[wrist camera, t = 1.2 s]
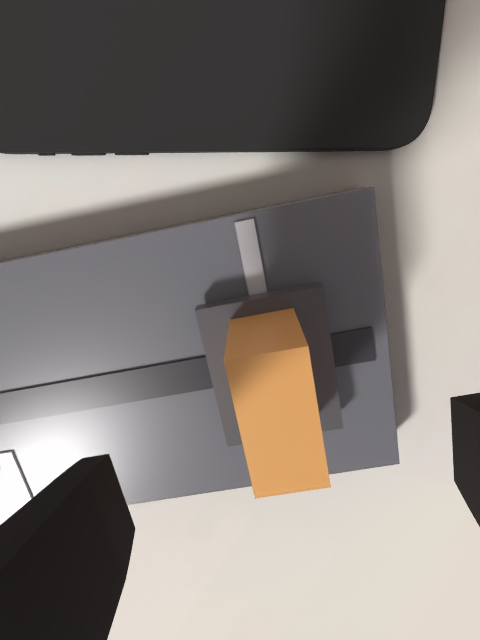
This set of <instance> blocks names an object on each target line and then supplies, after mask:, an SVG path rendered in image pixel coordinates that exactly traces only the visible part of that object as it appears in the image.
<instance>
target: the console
mask: <svg viewBox="0 0 480 640" xmlns="http://www.w3.org/2000/svg"><path fill="white" fill-rule="evenodd" d="M318 282H321V284H322V285H323V286H324V292H325V299H326V306H327V314H328V321H329V328H330V335H331V342H332V349H333V357H334V364H335V371H336V378H337V385H338V392H339V400H340V407H341V414H342V421H343V429H337V430H331V431H324V432H322V435H323V442H324V448H325V454H326V461H327V467H328V473H329V474H335V473H341V472H348V471H355V470H361V469H368V468H374V467H381V466H388V465H394V464H400V463H399V452H398V442H397V431H396V420H395V410H394V399H393V389H392V378H391V367H390V357H389V346H388V336H387V325H386V314H385V304H384V293H383V283H382V272H381V261H380V251H379V240H378V230H377V219H376V208H375V198H374V187H366V188H357V189H352V190H347V191H342V192H337V193H332V194H327V195H322V196H318V197H313V198H308V199H303V200H298V201H293V202H288V203H283V204H279V205H274V206H269V207H264V208H259V209H254V210H249V211H244V212H239V213H235V214H230V215H225V216H220V217H215V218H210V219H205V220H200V221H196V222H191V223H186V224H181V225H176V226H171V227H166V228H161V229H157V230H152V231H147V232H142V233H137V234H132V235H127V236H122V237H118V238H113V239H108V240H103V241H98V242H93V243H88V244H83V245H78V246H74V247H69V248H64V249H59V250H54V251H49V252H44V253H39V254H35V255H30V256H25V257H20V258H15V259H10V260H5V261H0V524H2V523H3V522H4V521H6V520H7V519H8V518H9V517H10V516H12V515H13V514H14V513H15V512H16V511H18V510H19V509H20V508H21V507H22V506H23V505H25V504H26V503H27V502H28V501H29V500H31V499H32V498H33V497H34V496H35V495H37V494H38V493H39V492H40V491H41V490H42V489H44V488H45V487H46V486H47V485H48V484H50V483H51V482H52V481H53V480H54V479H56V478H57V477H58V476H59V475H60V474H62V473H63V472H64V471H65V470H67V469H68V468H69V467H71V466H72V465H73V464H75V463H76V462H77V461H79V460H80V459H82V458H86V457H92V456H98V455H104V454H109V455H110V457H111V460H112V463H113V466H114V469H115V472H116V475H117V478H118V480H119V483H120V486H121V489H122V492H123V495H124V498H125V500H126V503H127V505H130V504H136V503H143V502H150V501H156V500H163V499H170V498H176V497H183V496H189V495H196V494H203V493H209V492H216V491H222V490H229V489H236V488H242V487H249V486H252V483H251V479H250V474H249V470H248V465H247V461H246V457H245V452H244V448H243V445H237V446H230V447H228V446H227V442H226V438H225V434H224V430H223V426H222V422H221V417H220V413H219V409H218V405H217V401H216V397H215V393H214V388H213V384H212V380H211V376H210V372H209V368H208V364H207V360H206V355H205V351H204V347H203V343H202V339H201V335H200V331H199V327H198V322H197V318H196V314H195V308H196V306H197V305H201V304H206V303H211V302H217V301H222V300H227V299H233V298H238V297H243V296H249V295H254V294H259V293H265V292H270V291H275V290H280V289H286V288H291V287H296V286H302V285H307V284H312V283H318Z"/></svg>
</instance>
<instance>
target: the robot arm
mask: <svg viewBox="0 0 480 640" xmlns="http://www.w3.org/2000/svg"><path fill="white" fill-rule="evenodd" d="M450 399H451V421H452V443H453V465H454V481H455V483H456V485H457V487H458V489H459V491H460V492H461V494H462V496H463V498H464V500H465V502H466V504H467V505H468V507H469V509H470V511H471V512H472V514H473V516H474V518H475V519H476V521H477V523H478V525H479V526H480V393H475V394H469V395H463V396H457V397H451V398H450ZM134 533H135V526H134V523H133V521H132V518H131V515H130V512H129V509H128V506H127V503H126V500H125V498H124V495H123V492H122V489H121V486H120V483H119V480H118V478H117V475H116V472H115V469H114V466H113V463H112V460H111V457H110V455H109V454H104V455H98V456H92V457H86V458H82V459H80V460H79V461H77V462H76V463H75V464H73V465H72V466H71V467H69V468H68V469H67V470H65V471H64V472H63V473H62V474H60V475H59V476H58V477H57V478H56V479H54V480H53V481H52V482H51V483H50V484H48V485H47V486H46V487H45V488H44V489H42V490H41V491H40V492H39V493H38V494H37V495H35V496H34V497H33V498H32V499H31V500H29V501H28V502H27V503H26V504H25V505H23V506H22V507H21V508H20V509H19V510H18V511H16V512H15V513H14V514H13V515H12V516H10V517H9V518H8V519H7V520H6V521H4V522H3V523H2V524H1V525H0V640H107V638H108V635H109V632H110V629H111V625H112V622H113V619H114V616H115V613H116V609H117V606H118V603H119V600H120V596H121V593H122V590H123V587H124V583H125V580H126V575H127V571H128V566H129V561H130V556H131V550H132V544H133V539H134Z"/></svg>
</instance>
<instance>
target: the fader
mask: <svg viewBox="0 0 480 640" xmlns="http://www.w3.org/2000/svg"><path fill="white" fill-rule="evenodd" d="M195 314H196V318H197V322H198V327H199V331H200V335H201V339H202V343H203V347H204V351H205V355H206V360H207V364H208V368H209V372H210V376H211V380H212V384H213V388H214V393H215V397H216V401H217V405H218V409H219V413H220V417H221V422H222V426H223V430H224V434H225V438H226V442H227V446H228V447H230V446H237V445H243V448H244V452H245V457H246V461H247V465H248V470H249V474H250V479H251V483H252V487H253V492H254V496H255V498H261V497H267V496H274V495H281V494H288V493H294V492H301V491H308V490H314V489H321V488H328V487H331V486H330V479H329V473H328V467H327V461H326V454H325V448H324V442H323V435H322V432H324V431H331V430H337V429H343V421H342V414H341V407H340V400H339V392H338V385H337V378H336V371H335V364H334V357H333V349H332V342H331V335H330V328H329V321H328V314H327V306H326V299H325V292H324V286H323V285H322V284H321V282H318V283H312V284H307V285H302V286H296V287H291V288H286V289H280V290H275V291H270V292H265V293H259V294H254V295H249V296H243V297H238V298H233V299H227V300H222V301H217V302H211V303H206V304H201V305H197V306H196V308H195Z"/></svg>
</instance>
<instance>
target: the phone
mask: <svg viewBox="0 0 480 640" xmlns="http://www.w3.org/2000/svg"><path fill="white" fill-rule="evenodd" d="M445 1H446V0H0V153H4V154H38V155H40V156H46V155H55V154H71V155H106V154H105V153H115V155H149V153H207V152H320V151H385V150H392V149H396V148H400V147H403V146H405V145H407V144H409V143H411V142H412V141H414V140H415V139H416V138H417V137H418V136H419V135H420V134H421V133H422V131H423V130H424V128H425V126H426V124H427V122H428V120H429V117H430V113H431V109H432V104H433V96H434V89H435V81H436V73H437V65H438V57H439V50H440V42H441V33H442V25H443V17H444V9H445Z"/></svg>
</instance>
